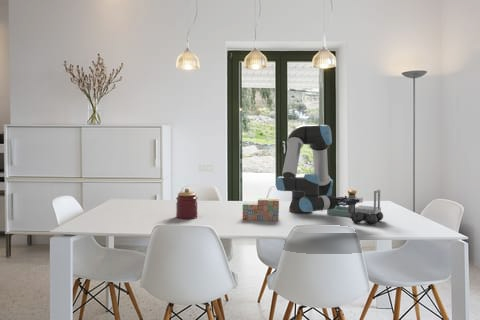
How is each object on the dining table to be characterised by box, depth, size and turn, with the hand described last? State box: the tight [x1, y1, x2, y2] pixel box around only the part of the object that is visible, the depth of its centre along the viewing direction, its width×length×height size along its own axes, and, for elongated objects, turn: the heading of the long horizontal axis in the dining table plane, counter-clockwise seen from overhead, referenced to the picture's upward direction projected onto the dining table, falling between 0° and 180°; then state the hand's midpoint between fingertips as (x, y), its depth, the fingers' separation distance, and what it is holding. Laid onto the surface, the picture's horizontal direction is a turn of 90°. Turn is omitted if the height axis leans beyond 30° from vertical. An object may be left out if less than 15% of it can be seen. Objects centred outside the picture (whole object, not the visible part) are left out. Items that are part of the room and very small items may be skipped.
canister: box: [175, 187, 198, 220], centre depth 224 cm, size 13×13×18 cm
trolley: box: [350, 189, 384, 226], centre depth 214 cm, size 14×15×19 cm
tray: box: [326, 205, 350, 218], centre depth 239 cm, size 16×16×3 cm
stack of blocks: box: [242, 198, 280, 222], centre depth 219 cm, size 21×6×12 cm, turn 81°
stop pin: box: [347, 189, 357, 213], centre depth 202 cm, size 5×5×12 cm
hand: (359, 199), depth 205 cm, fingers closed on stop pin, 3 cm apart
